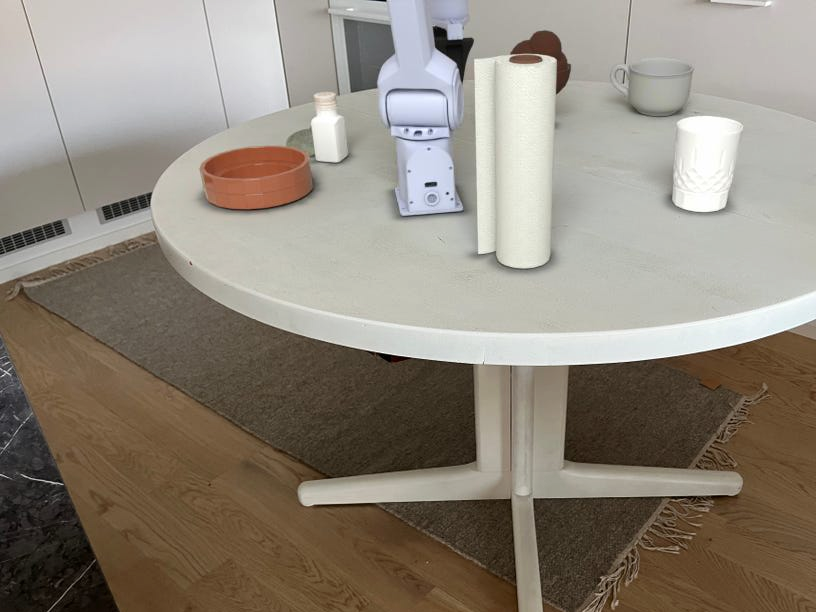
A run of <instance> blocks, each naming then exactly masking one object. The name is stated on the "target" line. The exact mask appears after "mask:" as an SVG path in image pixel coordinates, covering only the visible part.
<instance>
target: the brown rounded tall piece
mask: <svg viewBox="0 0 816 612" xmlns="http://www.w3.org/2000/svg"><path fill="white" fill-rule="evenodd" d="M562 50H563V47H562V42H561V39H560V37H559V36H558V35H557V34H556V33H555V32H554V31H551V30H547V29H546V30H545V29H544V30H538V31H535V32H533V34H532V35H531V37H530V38H529V39H524V40H522V41H520V42H518V43H517V44H516V45H515V46H514V47H513V48H512V50H511V51H510V53H509V55H516V54H539V55H547V56H550V57H554V58H555V59H556V60H557V74H556V95H558V94H559V93H560V92H561V91H562V90H563V89H564V88H565V87H566V86H567V84H568V81H569V79H570V75H571V72H572V64H571V63H569V62H568V59H567V56H566V54H565V53H564V52H563V51H562Z"/></svg>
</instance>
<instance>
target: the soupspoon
mask: <svg viewBox="0 0 816 612" xmlns="http://www.w3.org/2000/svg"><path fill="white" fill-rule="evenodd" d="M285 147H292V148H296V149H299V150H302V151H305V152H306V153H307V154H308V155H309V157H313V156H315V149H314V142H313V134H312V127H311V126H309V128H305V129H301V130H297V131H296V132H294V133H292V134H291V135H290V136H288V138H287V139H286V144H285Z"/></svg>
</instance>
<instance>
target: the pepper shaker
mask: <svg viewBox="0 0 816 612" xmlns="http://www.w3.org/2000/svg"><path fill="white" fill-rule="evenodd" d="M313 103H314V109H315V113H316V115H315V116H314V117H313V118H312V119H311V120H310V127H312V134H313V142H314V149H315V155H314V156H315V157H314V158H315V160H316V161H317V162H321V163H323V162H324V163H325V162H326V163H335V164H336V163H340V162H341V161H342V160H344V159H345V158H347V157H348V155H349V147H348V138H347V130H346V120H345V117H344V116H343V115H341V114H338V101H337V94H336V93H335V92H333V91H321V92H317V93H314V94H313Z"/></svg>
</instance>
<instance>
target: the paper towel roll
mask: <svg viewBox="0 0 816 612" xmlns="http://www.w3.org/2000/svg"><path fill="white" fill-rule="evenodd" d="M473 68H474V70H473V71H474V115H475V117H474V119H475V122H474V123H475V161H476V162H475V165H476V168H475V169H476V170H475V171H476V172H475V173H476V214H477V215H476V217H477V219H476V220H477V255H483V254H490V253H494V252H495V256H496V259H497V261H498V262H499V263H500V264H502V265H503V266H506V267H510V268H512V269H533V268H537V267H540V266H543V265H545V264H546V263H548V262H549V260H550V257H551V255H552V254H551V251H552V226H553V225H552V224H553V223H552V222H553V221H552V220H553V190H554V160H555V133H556V130H555V129H556V104H557V103H556V102H557V101H556V100H557V99H556V97H557V94H556V74H557V60H556V59H555V58H554V57H550V56H547V55H539V54H516V55H510V54H505V55H504V54H503V55H497V56H492V57H484V58H474V59H473Z"/></svg>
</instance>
